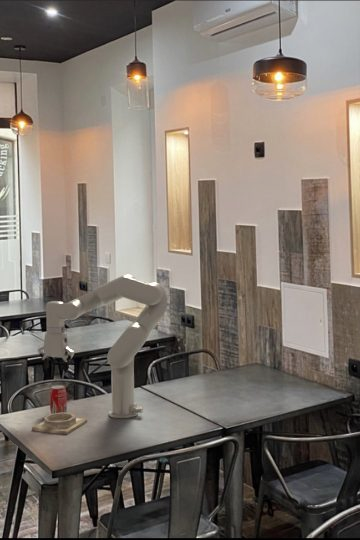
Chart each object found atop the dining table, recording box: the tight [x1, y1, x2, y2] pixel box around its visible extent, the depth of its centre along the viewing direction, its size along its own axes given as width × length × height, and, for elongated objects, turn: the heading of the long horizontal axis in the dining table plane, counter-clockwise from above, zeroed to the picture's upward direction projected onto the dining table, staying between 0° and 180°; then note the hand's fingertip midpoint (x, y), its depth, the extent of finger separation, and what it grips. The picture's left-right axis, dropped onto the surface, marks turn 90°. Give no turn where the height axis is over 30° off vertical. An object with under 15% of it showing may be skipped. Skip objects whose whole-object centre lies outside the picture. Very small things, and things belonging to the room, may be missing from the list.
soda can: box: [49, 384, 68, 414], centre depth 282 cm, size 7×7×12 cm
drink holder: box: [31, 412, 88, 435], centre depth 266 cm, size 16×16×4 cm
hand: (56, 369), depth 281 cm, fingers open, 9 cm apart
